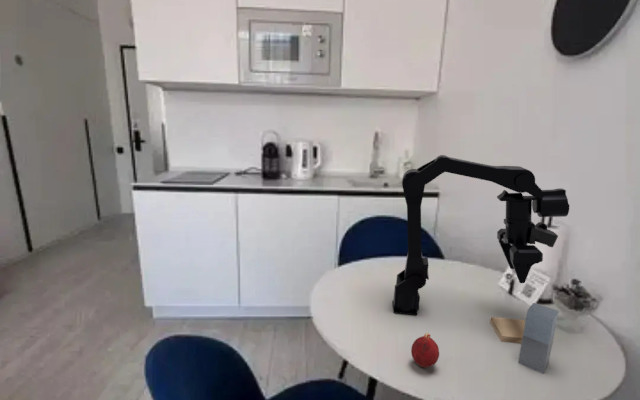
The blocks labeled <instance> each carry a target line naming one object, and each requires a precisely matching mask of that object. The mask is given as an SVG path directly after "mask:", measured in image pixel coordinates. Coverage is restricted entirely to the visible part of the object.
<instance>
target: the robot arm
mask: <svg viewBox="0 0 640 400" xmlns="http://www.w3.org/2000/svg"><path fill="white" fill-rule="evenodd" d="M444 173H449V174H454V175H459V176H463V177H468V178H473V179H478V180H481V181H482V180H483V181H487V182H491V183H493V184H497V185H499V186H501V187H504V188H506V189H508V190H511V191H513V192H508V191H507V190H505V189H504V190H503V191H502V192H501V193H500V194H498V195H497V196H496V198H497V199H498V200H499V201H500V202H505V218H503V224H504V225H505V228H500V229H499V230H497V232H496V234H497V235H496V238H497V240H498V244H499V246H500V247H501V250H502V252H503V253H502V254H503V255H504V257H505V259H506V261H507V264H508V267H509V268H510V270H514V273H515V275H516V277H517V279H518V282H519V283H520V284H525V283H526V281H527V278H528V275H529V272H530V270H531V269H532V267H533V266H534V265H536V264H539V263H542V262H543V260H544V254H543V252H542V251H541V250H540V249H539V248H538V247H537V246H536V242H537V243H539V244H542V245H546V246H547V247H549V248H554V246H555V245H556V241H557V239H558V237H559V235H558V234H557V233H556V232H554V231H552V230H551V229H548V226H547V224H546V223H544V222H541V221H540V222H539V221H538V222H537V223H536V224H535V222H533V221H532V212H533V214H537V216H538V217H539V218H551V217H552V218H556V217H558V218H559V217H560V218H562V217H567V216H568V214H569V212H570V203H569V198H568V196H567V194H566V193H567V190H566V189H564V188H555V189H542V188H540V187H539V186H538V184H537V183H536V177H535V175H534V173H533V171H531V170H529V169H527V168H524V167H523V166H520V165H490V164H485V163H480V162H475V161H470V160H465V159H461V158H460V159H459V158H454V157H450V156H447V155H444V154H441V155H438V156H437V157H435V158H434V159H432V160H431V161H428V162H427V163H424V164H423V165H421V166H420V167H418V168H411V169H407V170H406V171H405V172H404V173H403V175H402V180H401V185H402V190H403V195H404V198H405V199H404V201H405V203H406V214H407V215H406V218H407V223H406V225H407V227H406V228H407V256H406V260H405V267H404V269H403V270H402V271H401V272H399V273H398V274H396V281H395V282H396V283H395V285H394V291H393V300H392V311H393V313H394V314H399V315H401V314H403V315H409V316H410V315H413V316H417V315H418V311H419V308H420V300H421V297H420V296H421V295H420V293H419V291H420V289H423V288H424V286H426V284H427V280H430V275H429V257H427V256H426V257H423V253H422V202H423V197H424V192H425V187H426V185H427V184H429V183H430V182H432V181H434V180H435V179H437V178H438V177H439V176H440V175H442V174H444ZM524 193H527V194H529V195H524Z"/></svg>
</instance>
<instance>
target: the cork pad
mask: <svg viewBox="0 0 640 400" xmlns="http://www.w3.org/2000/svg"><path fill="white" fill-rule="evenodd" d="M525 321H526V319H517V318H505V317H494V316H490V320H489V322H490V324H491V326H492V328H493V330H494V332H495V333H496V335H497V337H498V338H499V340H500V341H501V342H504V343H512V344H513V343H514V344H522V338H523V333H524V327H525Z"/></svg>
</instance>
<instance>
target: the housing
mask: <svg viewBox="0 0 640 400" xmlns="http://www.w3.org/2000/svg"><path fill="white" fill-rule="evenodd" d="M559 312H560V311H559V309H558V310H557V309H554V308H551V307H547V306H545V305H542V304H538V303H536V302H532V304H531V305H530V306H529V308H528V309H527V311H526V316H525V320H526V321H525V327H524V333H523V338H522V343H520V351H519V355H518V362H517V363H518V364H520V365H522V366H525V367H526V368H529V369H531V370H534V371H536V372H538V373H541V374H544V373H545V371H546V369H547V367H548V365H549V363H550V358H551V352H552V348H553V343H554V338H555V333H556V329H557V322H558V318H559Z"/></svg>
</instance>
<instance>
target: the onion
mask: <svg viewBox="0 0 640 400" xmlns="http://www.w3.org/2000/svg"><path fill="white" fill-rule="evenodd" d="M410 349H411V350H410V351H411V357H412V359H413V361H414V362H415V363H416V364H417V365H418V366H420V367H421V368H429V367H432V366H434V365H435V364H436V363H437V362H438V361H439V357H440V349H439V345H438V344H437V342H436V341H435V340H434V339H433V338H431V334H430V333H429V332H425V333H424V335H423V336H420V337H418V338H416V339H415V340H414V341H413V343H412V345H411V348H410Z"/></svg>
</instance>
